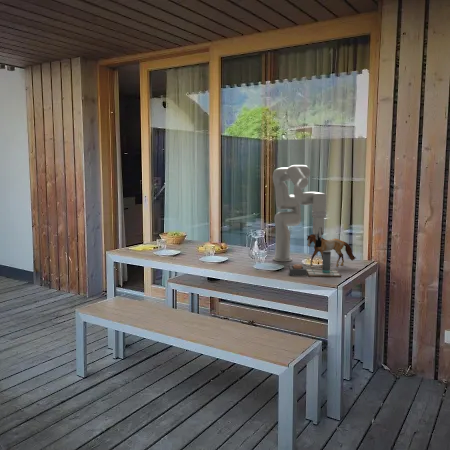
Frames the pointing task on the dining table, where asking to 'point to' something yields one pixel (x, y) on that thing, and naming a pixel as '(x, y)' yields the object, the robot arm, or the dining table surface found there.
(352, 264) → the dining table surface
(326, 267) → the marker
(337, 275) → the board
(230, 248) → the dining table surface
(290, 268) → the button base
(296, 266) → the button
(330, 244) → the horse figurine
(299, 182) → the robot arm
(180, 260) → the dining table surface
